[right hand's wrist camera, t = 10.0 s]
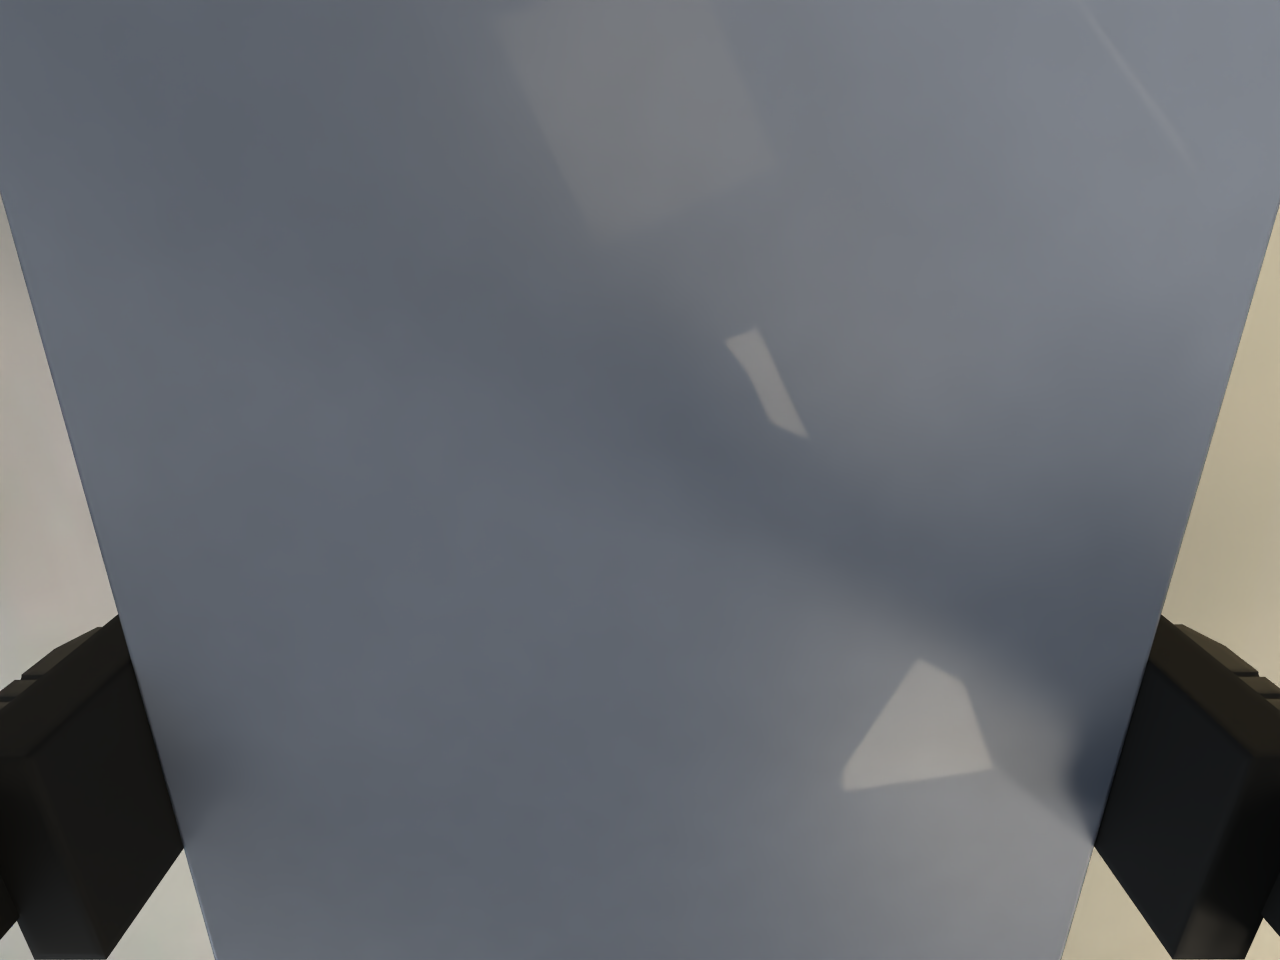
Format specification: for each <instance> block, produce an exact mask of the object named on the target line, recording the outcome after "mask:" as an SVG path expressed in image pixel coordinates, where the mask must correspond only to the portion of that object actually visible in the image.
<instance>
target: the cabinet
mask: <svg viewBox="0 0 1280 960" xmlns="http://www.w3.org/2000/svg"><path fill="white" fill-rule="evenodd" d="M0 193H1V196H2V200H3V204H4V207H5V211H6V214H7V218H8V221H9V225H10V229H11V232H12V236H13V239H14V243H15V246H16V250H17V254H18V257H19V261H20V264H21V268H22V271H23V275H24V279H25V282H26V286H27V289H28V293H29V296H30V300H31V304H32V307H33V311H34V314H35V318H36V321H37V325H38V329H39V332H40V336H41V339H42V343H43V346H44V350H45V354H46V357H47V361H48V364H49V368H50V371H51V375H52V379H53V382H54V386H55V389H56V393H57V396H58V400H59V404H60V407H61V411H62V414H63V418H64V421H65V425H66V429H67V432H68V436H69V439H70V443H71V446H72V450H73V454H74V457H75V461H76V464H77V468H78V471H79V475H80V479H81V482H82V486H83V489H84V493H85V496H86V500H87V504H88V507H89V511H90V514H91V518H92V521H93V525H94V529H95V532H96V536H97V539H98V543H99V546H100V550H101V554H102V557H103V561H104V564H105V568H106V571H107V575H108V579H109V582H110V586H111V589H112V593H113V596H114V600H115V604H116V607H117V611H118V614H119V618H120V621H121V625H122V629H123V632H124V636H125V639H126V643H127V646H128V650H129V654H130V657H131V661H132V664H133V668H134V672H135V675H136V679H137V682H138V686H139V689H140V693H141V697H142V700H143V704H144V707H145V711H146V714H147V718H148V722H149V725H150V729H151V732H152V736H153V739H154V743H155V747H156V750H157V754H158V757H159V761H160V764H161V768H162V772H163V775H164V779H165V782H166V786H167V789H168V793H169V797H170V800H171V804H172V807H173V811H174V814H175V818H176V822H177V825H178V829H179V832H180V836H181V839H182V843H183V847H184V850H185V854H186V857H187V861H188V864H189V868H190V872H191V875H192V879H193V882H194V886H195V889H196V893H197V897H198V900H199V904H200V907H201V911H202V914H203V918H204V922H205V925H206V929H207V932H208V936H209V939H210V943H211V947H212V950H213V954H214V957H215V960H1061V959H1062V955H1063V952H1064V948H1065V945H1066V941H1067V938H1068V934H1069V931H1070V927H1071V924H1072V921H1073V917H1074V914H1075V910H1076V907H1077V903H1078V900H1079V896H1080V893H1081V889H1082V886H1083V882H1084V879H1085V876H1086V872H1087V869H1088V865H1089V862H1090V858H1091V855H1092V851H1093V848H1094V844H1095V841H1096V837H1097V834H1098V831H1099V827H1100V824H1101V820H1102V817H1103V813H1104V810H1105V806H1106V803H1107V799H1108V796H1109V792H1110V789H1111V786H1112V782H1113V779H1114V775H1115V772H1116V768H1117V765H1118V761H1119V758H1120V754H1121V751H1122V748H1123V744H1124V741H1125V737H1126V734H1127V730H1128V727H1129V723H1130V720H1131V716H1132V713H1133V709H1134V706H1135V703H1136V699H1137V696H1138V692H1139V689H1140V685H1141V682H1142V678H1143V675H1144V671H1145V668H1146V664H1147V661H1148V658H1149V654H1150V651H1151V647H1152V644H1153V640H1154V637H1155V633H1156V630H1157V626H1158V623H1159V620H1160V616H1161V613H1162V609H1163V606H1164V602H1165V599H1166V595H1167V592H1168V588H1169V585H1170V581H1171V578H1172V575H1173V571H1174V568H1175V564H1176V561H1177V557H1178V554H1179V550H1180V547H1181V543H1182V540H1183V536H1184V533H1185V530H1186V526H1187V523H1188V519H1189V516H1190V512H1191V509H1192V505H1193V502H1194V498H1195V495H1196V492H1197V488H1198V485H1199V481H1200V478H1201V474H1202V471H1203V467H1204V464H1205V460H1206V457H1207V453H1208V450H1209V447H1210V443H1211V440H1212V436H1213V433H1214V429H1215V426H1216V422H1217V419H1218V415H1219V412H1220V408H1221V405H1222V402H1223V398H1224V395H1225V391H1226V388H1227V384H1228V381H1229V377H1230V374H1231V370H1232V367H1233V364H1234V360H1235V357H1236V353H1237V350H1238V346H1239V343H1240V339H1241V336H1242V332H1243V329H1244V325H1245V322H1246V319H1247V315H1248V312H1249V308H1250V305H1251V301H1252V298H1253V294H1254V291H1255V287H1256V284H1257V280H1258V277H1259V274H1260V270H1261V267H1262V263H1263V260H1264V256H1265V253H1266V249H1267V246H1268V242H1269V239H1270V236H1271V232H1272V229H1273V225H1274V222H1275V218H1276V215H1277V211H1278V208H1279V204H1280V0H0Z"/></svg>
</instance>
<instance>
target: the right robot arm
mask: <svg viewBox="0 0 1280 960" xmlns="http://www.w3.org/2000/svg"><path fill="white" fill-rule="evenodd" d="M1094 847H1095V848H1096V850H1097V851H1098V852H1099V854H1100V855H1101V857H1102V858H1103V860H1104V861H1105V863H1106V864H1107V865H1108V867H1109V868H1110V870H1111V871H1112V873H1113V874H1114V875H1115V877H1116V878H1117V880H1118V881H1119V883H1120V884H1121V886H1122V887H1123V888H1124V890H1125V891H1126V893H1127V894H1128V896H1129V897H1130V899H1131V900H1132V901H1133V903H1134V904H1135V906H1136V907H1137V909H1138V910H1139V911H1140V913H1141V914H1142V916H1143V917H1144V919H1145V920H1146V922H1147V923H1148V924H1149V926H1150V927H1151V929H1152V930H1153V932H1154V933H1155V935H1156V936H1157V937H1158V939H1159V940H1160V942H1161V943H1162V945H1163V946H1164V947H1165V949H1166V950H1167V952H1168V953H1169V955H1170V956H1171V958H1172V959H1245V957H1246V955H1247V953H1248V950H1249V948H1250V946H1251V944H1252V942H1253V939H1254V937H1255V935H1256V933H1257V930H1258V928H1259V926H1260V924H1261V922H1262V919H1263V918H1264V919H1265V920H1266V921H1267V922H1268V923H1269V925H1270V926H1271V927H1272V928H1273V929H1274V930H1275V931H1276V933H1277V934H1278V935H1279V936H1280V688H1279V687H1277V686H1276V685H1275V684H1273V683H1272V682H1271V681H1270V680H1268V679H1267V678H1266V677H1259V675H1258V671H1257V670H1255V669H1254V668H1253V667H1252V666H1250V665H1249V664H1248V663H1246V662H1245V661H1244V660H1242V659H1241V658H1240V657H1239V656H1237V655H1236V654H1235V653H1233V652H1232V651H1231V650H1230V649H1228V648H1227V647H1226V646H1224V645H1222V644H1220V643H1218V642H1216V641H1214V640H1212V639H1210V638H1208V637H1206V636H1204V635H1202V634H1200V633H1198V632H1196V631H1194V630H1192V629H1190V628H1188V627H1186V626H1184V625H1182V624H1172V623H1171V622H1170V621H1169V620H1167V619H1166V618H1165V617H1164V616H1162V615H1161V616H1160V620H1159V623H1158V626H1157V630H1156V633H1155V637H1154V640H1153V644H1152V647H1151V651H1150V654H1149V658H1148V661H1147V664H1146V668H1145V671H1144V675H1143V678H1142V682H1141V685H1140V689H1139V692H1138V696H1137V699H1136V703H1135V706H1134V709H1133V713H1132V716H1131V720H1130V723H1129V727H1128V730H1127V734H1126V737H1125V741H1124V744H1123V748H1122V751H1121V754H1120V758H1119V761H1118V765H1117V768H1116V772H1115V775H1114V779H1113V782H1112V786H1111V789H1110V792H1109V796H1108V799H1107V803H1106V806H1105V810H1104V813H1103V817H1102V820H1101V824H1100V827H1099V831H1098V834H1097V837H1096V841H1095V844H1094ZM183 848H184V847H183V843H182V839H181V836H180V832H179V829H178V825H177V822H176V818H175V814H174V811H173V807H172V804H171V800H170V797H169V793H168V789H167V786H166V782H165V779H164V775H163V772H162V768H161V764H160V761H159V757H158V754H157V750H156V747H155V743H154V739H153V736H152V732H151V729H150V725H149V722H148V718H147V714H146V711H145V707H144V704H143V700H142V697H141V693H140V689H139V686H138V682H137V679H136V675H135V672H134V668H133V664H132V661H131V657H130V654H129V650H128V646H127V643H126V639H125V636H124V632H123V629H122V625H121V621H120V618H119V614H118V615H117V616H115V617H114V618H113V619H112V620H110V621H109V622H108V623H107V624H106V625H104V626H103V627H97V628H95V629H93V630H91V631H89V632H87V633H85V634H83V635H81V636H79V637H77V638H75V639H73V640H71V641H69V642H67V643H65V644H63V645H61V646H59V647H57V648H56V649H54V650H53V651H51V652H50V653H49V654H48V655H46V656H45V657H44V658H42V659H41V660H40V661H39V662H37V663H36V664H35V665H33V666H32V667H31V668H30V669H28V670H27V671H26V672H24V673H23V674H22V677H21V680H14V681H13V682H12V683H10V684H9V685H8V686H7V687H5V688H4V689H3V690H1V691H0V940H1V938H2V937H3V936H4V935H5V934H6V933H7V931H8V930H9V929H10V928H11V927H12V926H13V924H14V923H15V922H16V921H17V922H18V924H19V926H20V929H21V931H22V933H23V935H24V937H25V940H26V942H27V944H28V946H29V948H30V951H31V953H32V955H33V957H34V959H35V960H106V959H107V958H108V956H109V955H110V954H111V952H112V951H113V949H114V948H115V946H116V945H117V943H118V942H119V941H120V939H121V938H122V936H123V935H124V933H125V932H126V930H127V929H128V928H129V926H130V925H131V923H132V922H133V920H134V919H135V918H136V916H137V915H138V913H139V912H140V910H141V909H142V907H143V906H144V905H145V903H146V902H147V900H148V899H149V897H150V896H151V894H152V893H153V892H154V890H155V889H156V887H157V886H158V884H159V883H160V882H161V880H162V879H163V877H164V876H165V874H166V873H167V871H168V870H169V869H170V867H171V866H172V864H173V863H174V861H175V860H176V858H177V857H178V856H179V854H180V853H181V851H182V850H183Z"/></svg>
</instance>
